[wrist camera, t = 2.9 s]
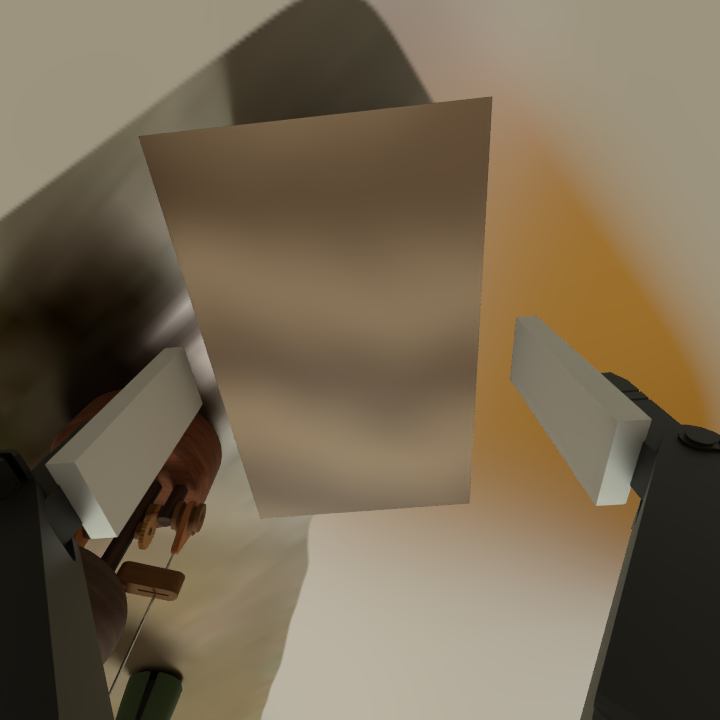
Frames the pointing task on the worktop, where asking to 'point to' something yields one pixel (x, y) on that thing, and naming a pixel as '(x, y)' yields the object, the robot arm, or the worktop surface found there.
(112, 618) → the music box
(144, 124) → the worktop surface
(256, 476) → the brown wooden block
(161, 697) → the character mug
